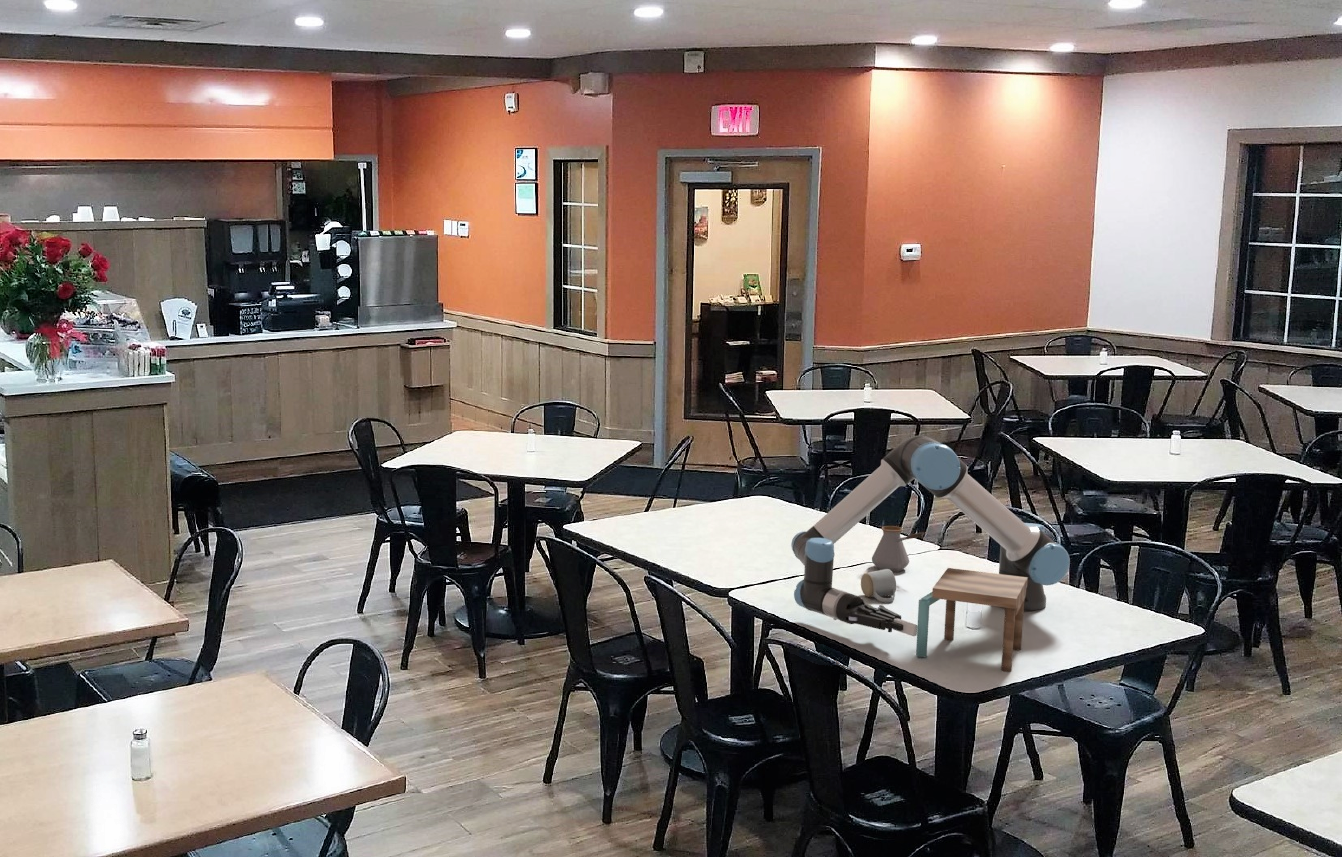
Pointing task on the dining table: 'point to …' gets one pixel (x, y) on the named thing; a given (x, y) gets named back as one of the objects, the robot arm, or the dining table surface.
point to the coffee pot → (892, 550)
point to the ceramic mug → (879, 585)
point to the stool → (985, 602)
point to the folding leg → (923, 624)
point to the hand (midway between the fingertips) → (915, 630)
